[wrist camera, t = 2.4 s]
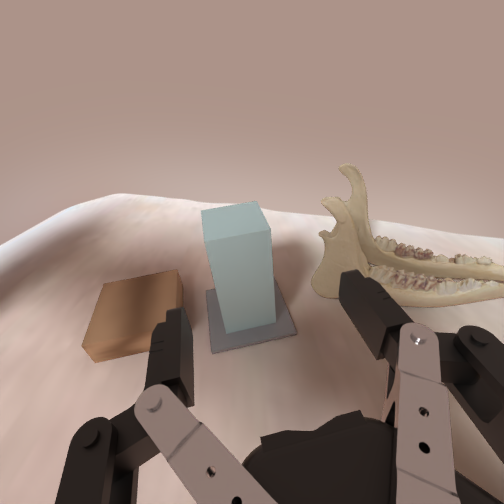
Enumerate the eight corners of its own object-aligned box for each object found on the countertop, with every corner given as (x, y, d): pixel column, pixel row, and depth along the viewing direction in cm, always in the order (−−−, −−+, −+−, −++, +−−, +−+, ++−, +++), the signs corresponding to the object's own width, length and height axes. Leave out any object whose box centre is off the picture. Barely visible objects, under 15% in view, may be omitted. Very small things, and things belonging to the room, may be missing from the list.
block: (226, 333, 29) (204, 241, 21) (220, 297, 33) (201, 210, 26) (276, 322, 29) (270, 229, 22) (264, 288, 34) (256, 200, 26)
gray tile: (212, 354, 27) (211, 351, 27) (206, 292, 34) (205, 290, 34) (296, 334, 28) (296, 331, 28) (274, 278, 35) (274, 276, 35)
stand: (95, 363, 28) (81, 345, 26) (113, 300, 35) (103, 283, 33) (182, 343, 29) (175, 325, 27) (183, 286, 36) (177, 269, 34)
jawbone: (307, 296, 32) (320, 185, 25) (325, 254, 40) (338, 160, 32) (591, 373, 23) (744, 234, 16) (545, 300, 31) (633, 183, 23)
